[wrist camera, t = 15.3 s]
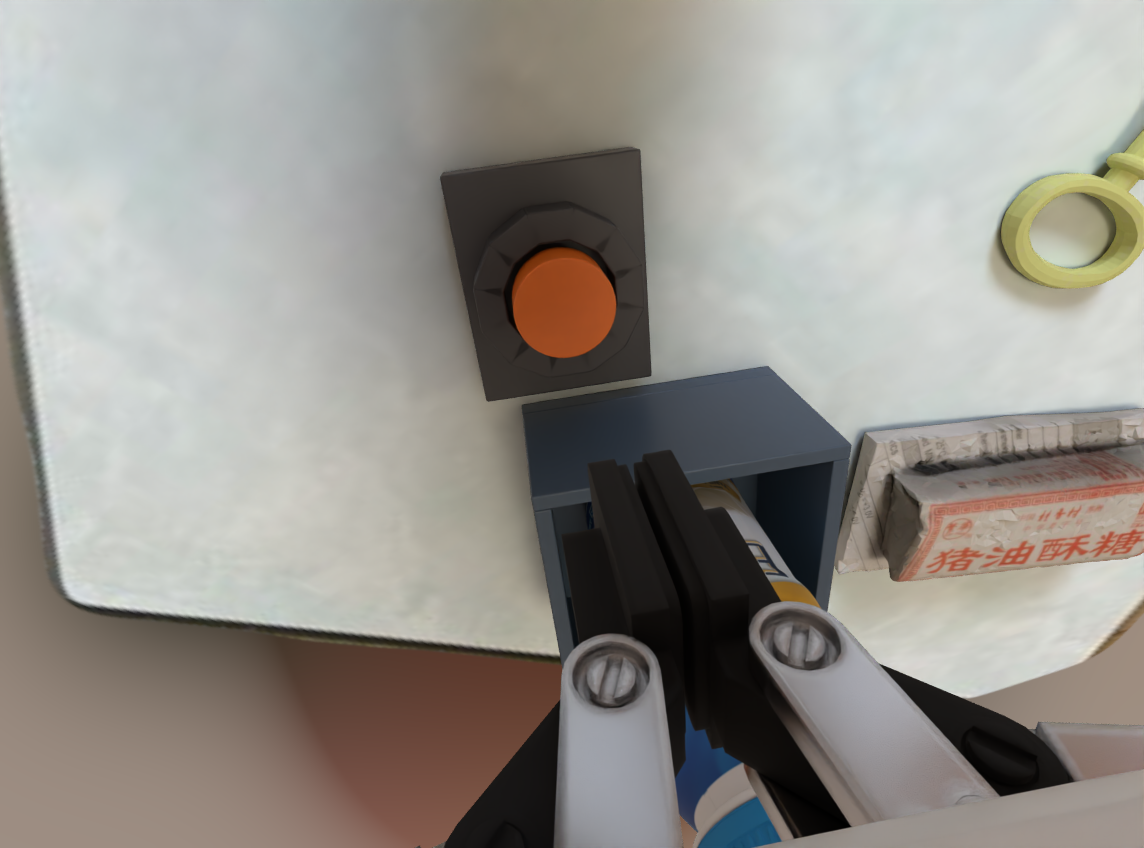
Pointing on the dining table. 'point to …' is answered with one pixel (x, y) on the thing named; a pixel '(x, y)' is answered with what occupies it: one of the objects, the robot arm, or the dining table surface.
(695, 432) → the blue box
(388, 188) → the dining table surface
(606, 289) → the call button
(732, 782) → the beverage bottle
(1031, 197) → the key
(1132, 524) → the packaged product
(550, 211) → the box
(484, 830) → the robot arm
